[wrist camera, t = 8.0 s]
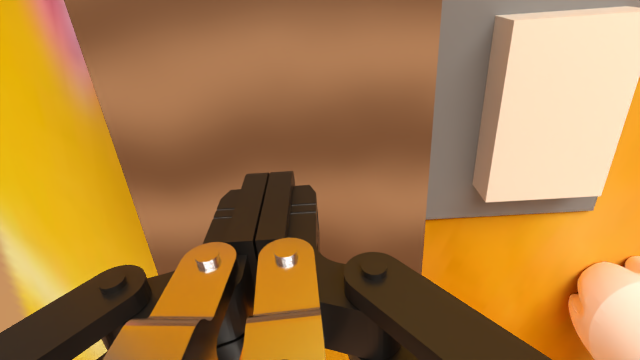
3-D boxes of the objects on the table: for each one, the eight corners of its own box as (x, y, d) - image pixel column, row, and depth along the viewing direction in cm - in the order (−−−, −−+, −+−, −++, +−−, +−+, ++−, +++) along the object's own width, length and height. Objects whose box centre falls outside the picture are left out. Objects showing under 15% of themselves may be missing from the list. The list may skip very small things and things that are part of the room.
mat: (421, -73, 17) (423, -74, 16) (684, -93, 16) (689, -94, 16) (407, 217, 24) (408, 220, 24) (590, 207, 24) (593, 210, 23)
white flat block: (660, 10, 16) (627, 5, 18) (514, 20, 16) (495, 15, 18) (600, 195, 20) (578, 177, 22) (485, 202, 21) (472, 184, 22)
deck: (101, -48, 17) (45, -53, 14) (421, -73, 17) (448, -84, 13) (185, 242, 25) (162, 288, 21) (406, 231, 24) (421, 275, 21)
